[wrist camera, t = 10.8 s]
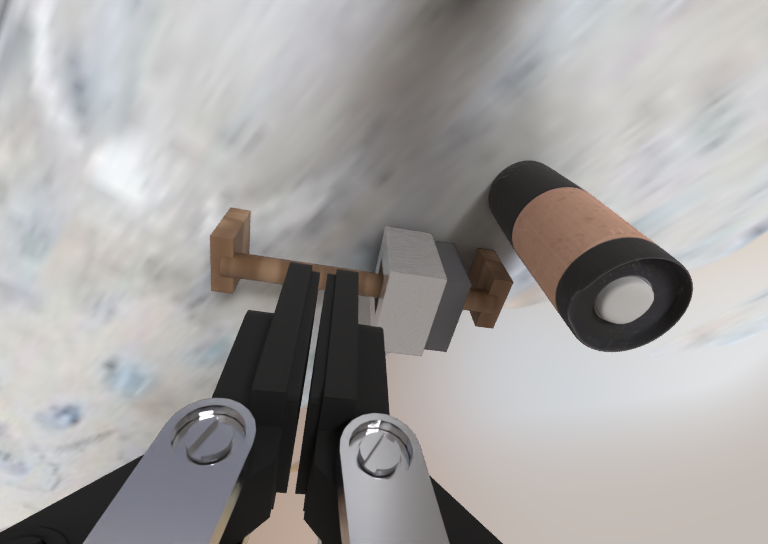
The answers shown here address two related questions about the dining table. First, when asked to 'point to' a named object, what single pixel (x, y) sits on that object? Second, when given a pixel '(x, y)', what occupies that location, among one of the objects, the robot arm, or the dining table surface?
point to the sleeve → (407, 289)
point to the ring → (448, 298)
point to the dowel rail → (238, 264)
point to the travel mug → (589, 259)
